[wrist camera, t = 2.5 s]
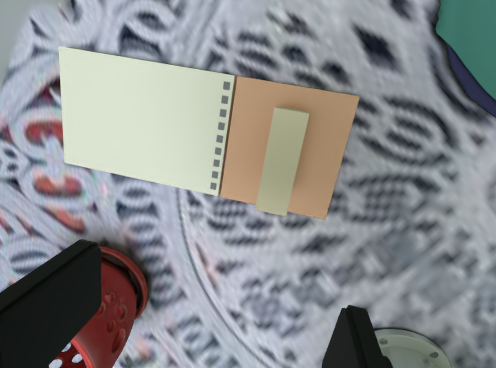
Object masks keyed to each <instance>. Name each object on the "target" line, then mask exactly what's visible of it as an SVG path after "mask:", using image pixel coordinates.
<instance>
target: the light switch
mask: <svg viewBox="0 0 496 368" xmlns="http://www.w3.org/2000/svg"><path fill="white" fill-rule="evenodd" d="M359 98H360V96H355V95H349V94H343V93H337V92H331V91H325V90H319V89H313V88H307V87H301V86H295V85H289V84H283V83H277V82H271V81H265V80H259V79H253V78H247V77H241V76H237V83H236V90H235V97H234V104H233V111H232V118H231V125H230V132H229V139H228V146H227V154H226V161H225V168H224V175H223V182H222V189H221V196H220V197H223V198H227V199H232V200H237V201H241V202H246V203H250V204H255V205H256V207H255V210H258V211H263V212H268V213H272V214H277V215H281V216H286V214H287V212H292V213H296V214H301V215H306V216H310V217H315V218H319V219H324V220H325V219H326V215H327V212H328V208H329V205H330V201H331V197H332V194H333V190H334V187H335V183H336V180H337V176H338V173H339V169H340V165H341V162H342V158H343V155H344V151H345V148H346V144H347V141H348V137H349V133H350V130H351V126H352V123H353V119H354V116H355V112H356V108H357V105H358V101H359Z"/></svg>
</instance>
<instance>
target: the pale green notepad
mask: <svg viewBox="0 0 496 368" xmlns="http://www.w3.org/2000/svg"><path fill="white" fill-rule="evenodd" d="M59 61H60V81H61V100H62V120H63V140H64V159H65V163H68V164H73V165H78V166H82V167H87V168H91V169H96V170H101V171H105V172H110V173H114V174H119V175H124V176H128V177H133V178H137V179H142V180H146V181H151V182H156V183H160V184H165V185H169V186H174V187H179V188H183V189H188V190H192V191H197V192H202V193H206V194H211V195H215V196H218V195H219V194H220V193H221V189H222V182H223V175H224V168H225V161H226V154H227V146H228V139H229V132H230V125H231V118H232V111H233V104H234V97H235V90H236V83H237V76H234V75H228V74H222V73H216V72H210V71H204V70H198V69H192V68H186V67H180V66H174V65H168V64H162V63H156V62H150V61H144V60H138V59H132V58H126V57H120V56H114V55H108V54H102V53H96V52H90V51H84V50H78V49H72V48H66V47H60V46H59Z"/></svg>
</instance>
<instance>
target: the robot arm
mask: <svg viewBox="0 0 496 368" xmlns="http://www.w3.org/2000/svg"><path fill="white" fill-rule="evenodd" d="M101 303H102V288H101V249H100V248H99V247H98V244H97V243H95V242H91V241H87V240H83V239H82V240H79V241H77V242H75V243H74V244H72V245H71V246H69V247H68V248H66V249H65V250H63V251H62V252H60V253H59V254H57V255H56V256H54V257H53V258H51V259H50V260H48V261H47V262H45V263H44V264H43V265H41V266H40V267H38V268H37V269H35V270H34V271H32V272H31V273H29V274H28V275H26V276H25V277H23V278H22V279H20V280H19V281H17V282H16V283H14V284H13V285H11V286H10V287H8V288H7V289H5V290H4V291H2V292H1V293H0V368H47V366H48V365H49V364H50V363H51V362H52V361H53V360H54V359H55V358H56V357H57V355H58V354H59V353H60V352H61V351H62V350H63V349H64V348H65V347H66V346H67V344H68V343H69V342H70V341H71V340H72V339H73V338H74V337H75V336H76V335H77V333H78V332H79V331H80V330H81V329H82V328H83V327H84V326H85V325H86V324H87V323H88V321H89V320H90V319H91V318H92V317H93V316H94V315H95V314H96V313H97V311H98V310H99V308H100V306H101ZM322 368H452V366H451V364H450V362H449V360H448V359H447V357H446V355H445V354H444V353H443V351H442V350H441V349H440V348H439V347H438V346H437V345H436V344H435V343H434V342H432V341H431V340H429V339H427V338H426V337H424V336H421V335H419V334H417V333H413V332H410V331H406V330H398V329H382V330H377V331H374V329H373V326H372V323H371V321H370V318H369V315H368V312H367V310H366V309H364V308H359V307H355V306H351V305H348V307H347V308H342V309H341V312H340V315H339V317H338V320H337V323H336V326H335V329H334V331H333V334H332V337H331V340H330V342H329V345H328V348H327V351H326V354H325V356H324V359H323V363H322Z"/></svg>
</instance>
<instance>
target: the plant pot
mask: <svg viewBox="0 0 496 368" xmlns="http://www.w3.org/2000/svg"><path fill="white" fill-rule="evenodd" d="M98 247H99V248H100V249H101V288H102V303H101V306H100V308H99V310H98V311H97V313H96V314H95V315H94V316H93V317H92V318H91V319H90V320H89V321H88V323H87V324H86V325H85V326H84V327H83V328H82V329H81V330H80V331H79V332H78V333H77V335H76V336H75V337H74V338H73V339H72V340H71V341H70V343H71V347H70V348H69V349H68V350H67V351H65V352H60V353H59V354H58V355H57V357H56V358H55V359H54V360H56V359H60V360H62V365H61V367H60V368H112V367H113V366H114V364H115V362H116V360H117V359H118V357H119V355H120V354H121V352H122V350H123V348H124V346H125V344H126V342H127V340H128V337H129V335H130V332H131V329H132V326H133V323H134V320H135V319H136V318H138V317H139V316H140V315H141V313H142V312H143V310H144V309H145V307H146V304H147V300H148V288H147V284H146V280H145V278H144V276H143V274H142V272H141V271H140V269H139V268H138V267H137V265H136V264H135V263H134V262H133V261H132V260H131V259H130V258H128V257H127V256H126V255H124V254H123V253H121V252H119V251H117V250H114V249H111V248H107V247H100V246H98ZM77 354H81V356H82V358H83V359H82V360H81V361H80V362H78V363H73V362H72V359H73V357H74V356H75V355H77ZM47 368H49V365H48V366H47Z"/></svg>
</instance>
